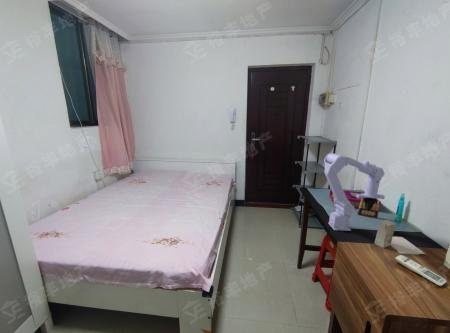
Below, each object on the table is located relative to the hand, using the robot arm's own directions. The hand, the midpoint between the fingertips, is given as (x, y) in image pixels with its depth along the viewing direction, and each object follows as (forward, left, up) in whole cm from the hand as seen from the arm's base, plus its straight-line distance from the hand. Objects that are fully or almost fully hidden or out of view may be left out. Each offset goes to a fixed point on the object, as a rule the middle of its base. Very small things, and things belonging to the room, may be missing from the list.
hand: (367, 210), depth 123 cm
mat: (+7, -18, -10) cm, 22 cm away
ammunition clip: (+10, +14, -11) cm, 20 cm away
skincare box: (-2, -18, -11) cm, 21 cm away
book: (+12, +35, -11) cm, 38 cm away
